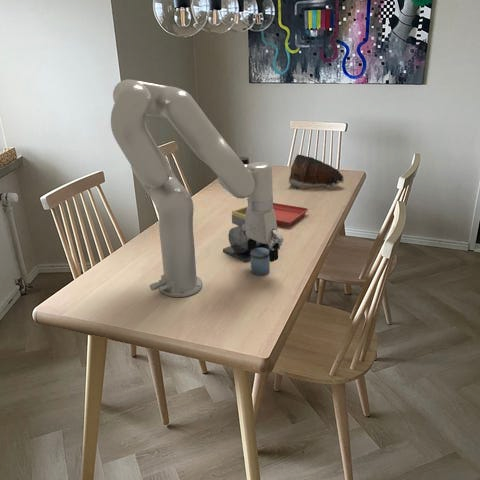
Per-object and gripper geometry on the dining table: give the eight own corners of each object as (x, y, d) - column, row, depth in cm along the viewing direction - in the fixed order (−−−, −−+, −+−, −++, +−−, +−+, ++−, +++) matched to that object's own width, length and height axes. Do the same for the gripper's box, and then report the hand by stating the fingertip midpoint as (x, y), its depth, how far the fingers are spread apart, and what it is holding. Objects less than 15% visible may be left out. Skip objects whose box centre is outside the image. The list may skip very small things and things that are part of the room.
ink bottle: (229, 182, 241) (228, 159, 236) (240, 178, 248) (239, 155, 243) (245, 185, 236) (244, 161, 231) (255, 181, 242) (255, 157, 237)
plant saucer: (270, 208, 204) (270, 201, 203) (308, 215, 195) (309, 207, 194) (249, 222, 190) (249, 214, 189) (290, 230, 181) (290, 222, 180)
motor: (245, 262, 156) (244, 221, 150) (222, 251, 164) (221, 212, 158) (280, 248, 165) (280, 209, 160) (256, 238, 174) (256, 201, 168)
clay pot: (346, 168, 215) (293, 155, 221) (337, 200, 220) (286, 186, 226) (349, 164, 228) (300, 152, 235) (341, 194, 234) (293, 181, 240)
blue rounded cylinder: (260, 278, 146) (259, 257, 143) (246, 271, 150) (246, 251, 147) (274, 271, 149) (274, 251, 146) (260, 265, 154) (260, 245, 151)
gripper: (232, 201, 145) (235, 251, 152) (271, 214, 132) (274, 268, 139) (250, 195, 149) (253, 244, 156) (290, 207, 137) (291, 260, 144)
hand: (262, 255), depth 148 cm, fingers open, 9 cm apart
